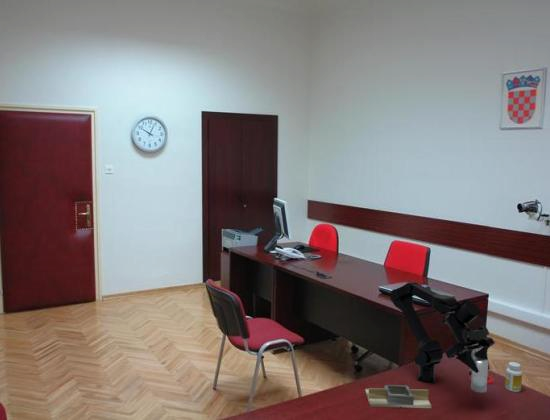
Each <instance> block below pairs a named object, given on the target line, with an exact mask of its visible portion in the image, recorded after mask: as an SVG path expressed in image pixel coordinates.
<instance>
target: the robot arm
mask: <svg viewBox="0 0 550 420" xmlns="http://www.w3.org/2000/svg"><path fill="white" fill-rule="evenodd" d="M414 296H415V297H417V298H419V299H420V300H422V301H425V302H426V303H428V304H430V305H431V307H432V309H433V310H435V311H436V312H437V313H438V314H440V315H443V318H442V321H441V323H442V324H443V325H444V324H447V325H448V327H449V329H450V330H451V332H452V334H453V335H451V337H452V339H455V340H456V341H457V343H456V344H452V345H450V346H449V347H448V348H447V349H445V355H446V357H447V359H452V358H455V359H456V360H458V361H460V362H461V363H463V364H465V365H466V366H467V367H468V368H469V369H470V368H471V369H472V370H473V371H474V372H476V373H477V372H479V371H478V368H477V366H476V364H475V362H474V360H473V358H472V356H471V355H472V351H473V349H475V353H474V355H475V357H482V358H485V359H487V360H488V371H489V370H490V369H491V367H490V364H489V359H488V350H489V349H490V348H491V347H492V346H493V345H495V343H496V342H495V340H494V339H493V338H492V337H490V336H489V335H490V332H489V331H490V330H489V329H488V328H487V327H486V326H485V325H484V326H483V325H482V326H478V329H476V330H474V329H473V327H468V324H470V323H471V322H472V321H473V320H475V319H476V318H477V317H478V316H480V314H481V309H480V307H479V306H478V305H477V304H476V303H475V302H472V301H471V300H470V299H469V298H467V299H466V298H465V299H464V300H463V301H462V302H459V301H458V300H457V299H456V298H455V297H453V296H450V295H447V294H446V295H445V294H441V293H437V292H435V291H433V290H432V289H429V288H427V287H425V286H423V285H421V284H419V283H418V282H417V281H411V282H407V283H405V284H404V285H402V286H400V287H397V288H396V289H392V290H391V292H390V293H389V298H390V301H391V302H392V304H393V305H394V306H395V307H396V308H397V309H399V310H400V311H401V313H402V314H403V316H404V318H405V320H406V322H407V324H408V326H409V327H410V329H411V332H412V333H413V335H414V337H415V339H416V342H417V352H418V354H417V355H416V356H414V358H413V359H414V363H415V364H416V365H418V366H419V372H418V374H417V379H416V380H417V381H420V382H425V383H426V382H427V383H432V384H436V383H435V382H436V378H437V377H436V375H435V372H436V371H435V369H436V365H439V364H440V363H441V361H442V359H443V355H444V351H443V348H442V347H441V345H440V343H439V340H437V339H432V338H431V337H430V335H429V334H428V332H427V330H426V327H425V326H424V324H423V322H422V320H421V318H420V317H419V315H418V313H417V311H416V309H415V307H414V305H413V304H414V298H413V297H414ZM445 314H446V315H445ZM488 336H489V337H488ZM456 355H457V356H456Z"/></svg>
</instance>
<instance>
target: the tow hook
mask: <svg viewBox="0 0 550 420" xmlns="http://www.w3.org/2000/svg"><path fill="white" fill-rule="evenodd" d="M474 353H476V351H475V349H473V350H471V356H472V358H474V357H476V356H475V355H474ZM471 377H472V369H471V368H469V370H468V381H469V382H471ZM494 382H495V379H494V378H493V377H492V376H491V375H489V374H488V375H487V385H492V384H494Z"/></svg>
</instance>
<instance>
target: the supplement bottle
mask: <svg viewBox="0 0 550 420" xmlns="http://www.w3.org/2000/svg"><path fill="white" fill-rule="evenodd" d="M522 379H523V371H522V370H521V364H520V363H519V362H514V361H510V362H508V367H507V368H506V370H505V381H504V382H505V383H504V388H505V389H506V390H508V391H511V392H515V393H518V392H521V391H522V381H523V380H522Z"/></svg>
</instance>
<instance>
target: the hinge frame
mask: <svg viewBox="0 0 550 420" xmlns="http://www.w3.org/2000/svg"><path fill="white" fill-rule="evenodd" d="M364 390H365V391H364V392H365V394H366V398H367V400H368V403H369V407H370V408H373V407H374V408H400V407H401V408H402V409H403V408H406V409H407V408H408V409H410V408H411V409H432V404H431V403H430V400H429V389H424V388H423V389H420V388H419V389H417V388H414V389H413V388H410V387H409V386H408V385H404V384H403V385H402V384H384V385H383V388H381V387H379V388H378V387H368V388H365V389H364Z"/></svg>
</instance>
